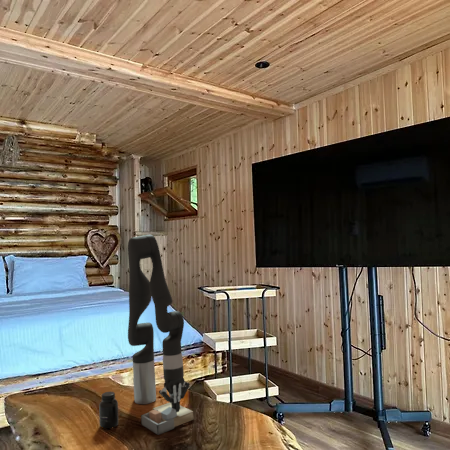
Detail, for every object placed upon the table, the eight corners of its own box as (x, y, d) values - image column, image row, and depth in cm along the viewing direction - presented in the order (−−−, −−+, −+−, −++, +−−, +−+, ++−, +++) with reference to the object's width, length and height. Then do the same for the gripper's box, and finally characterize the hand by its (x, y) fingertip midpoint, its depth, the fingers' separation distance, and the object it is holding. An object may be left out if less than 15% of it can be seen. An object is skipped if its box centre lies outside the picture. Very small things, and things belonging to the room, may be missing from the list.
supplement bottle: (99, 431, 153) (98, 398, 153) (100, 423, 160) (98, 392, 160) (118, 427, 155) (117, 395, 155) (118, 420, 161) (117, 389, 162)
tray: (141, 424, 156) (141, 415, 157) (157, 418, 161) (157, 409, 161) (157, 434, 147) (157, 424, 147) (174, 428, 152) (173, 418, 152)
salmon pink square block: (155, 420, 158) (149, 422, 156) (154, 409, 158) (149, 411, 157) (161, 423, 155) (155, 425, 154) (160, 412, 156) (155, 414, 154)
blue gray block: (162, 418, 155) (160, 412, 154) (171, 412, 157) (169, 406, 157) (168, 421, 152) (166, 415, 151) (177, 415, 154) (175, 409, 154)
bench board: (153, 416, 164) (152, 408, 164) (172, 408, 169) (172, 401, 170) (173, 427, 152) (172, 419, 153) (193, 419, 158) (193, 411, 158)
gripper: (181, 359, 164) (184, 403, 164) (152, 367, 155) (155, 414, 155) (193, 362, 158) (196, 408, 158) (163, 371, 150) (166, 420, 149)
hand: (176, 411), depth 156 cm, fingers closed
